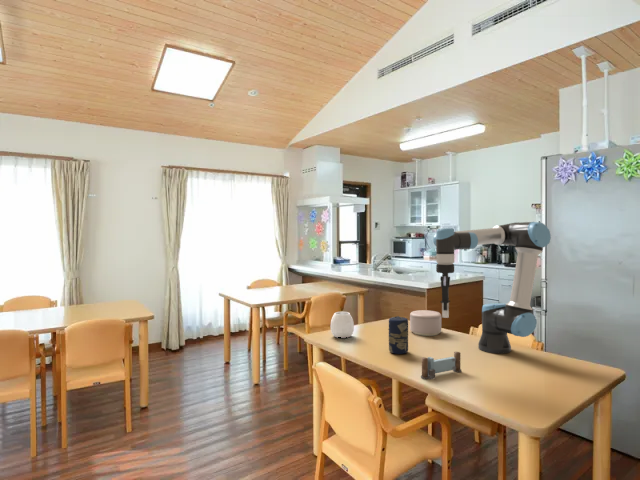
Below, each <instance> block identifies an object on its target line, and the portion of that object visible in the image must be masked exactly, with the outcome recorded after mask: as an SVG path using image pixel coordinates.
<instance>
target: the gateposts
mask: <svg viewBox="0 0 640 480" xmlns="http://www.w3.org/2000/svg"><path fill="white" fill-rule="evenodd" d="M453 357H454V358H456V361H455V366H456V369H455V370H452V371H453V373H462V369H461V352H460V351H454V352H453ZM420 379H422V380H428V379H429V380H435V379H436V373H435V370H434V369H431V370H429V376H428V357H425V356H424V357H421V375H420Z"/></svg>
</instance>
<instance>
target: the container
mask: <svg viewBox="0 0 640 480" xmlns="http://www.w3.org/2000/svg"><path fill="white" fill-rule="evenodd" d="M409 330H410V331H411V332H412V333H413V334H415V335H418V336H424V337H426V336H427V337H428V336H429V337H430V336H431V337H432V336H433V337H434V336H437V335H439V334H440V333H442V313H440V312H439V311H435V310H430V309H429V310H427V309H423V310H422V309H421V310H420V309H418V310H413V311H411V312H410V313H409Z"/></svg>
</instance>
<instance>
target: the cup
mask: <svg viewBox="0 0 640 480" xmlns="http://www.w3.org/2000/svg"><path fill="white" fill-rule="evenodd" d="M354 328H355V325H354V319H353V317H352V315H351V313H350V312H348V311H336V312H334V313H333V315H332V317H331V320H330V332H331V334H332V336H333V337H335V338H338V337H341V339H345V338H346V337H347V338H349V337H351V336H352V335H353V333H354V330H355V329H354Z"/></svg>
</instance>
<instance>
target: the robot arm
mask: <svg viewBox="0 0 640 480" xmlns="http://www.w3.org/2000/svg"><path fill="white" fill-rule="evenodd" d="M551 236H552V235H551V231H550V229H549V228H548V226H547V225H546V224H545V223H543V222H540V221H529V222H528V221H525V222H511V223H505V224H502V225H495V226H493V227H492V228H491V227H490V228H480V229H479V228H478V229H469V230H457V231H456V230H455V229H454V228H449V227H448V228H447V227H446V228H445V227H443V228H441V227H440V228H437V229H436V233H435V234H434V235H433V239H432V241H433V244H434V246H435V250H436V255H434V259H436V260H435V261H436V263H437V264H436V265H435V266H436V267H435V268H436V273H439V274H442V275H441V276H440V278H439V279H440V280H439V281H440V287H441V301H440V303H441V319H442V318H445V319H446V318H447V319H448V318H450V317H449V315H450V311H449V310H450V309H449V308H450V303H451V300H450V298H449V297H450V296H449V293H450V291H449V288H450V285H451V284H450V281H451V276H449V274H454V272H455V264H454V263H455V251H456V250H474V249H476V248H477V247H478V246H481V245H489V244H494V245H497V246H498V245H499V246H500V245H504V246H505V245H507V246H515V250H516V251H517V258H516V261H515V268H514V269H515V270H514V276H513V282H512V288H511V292H510V298H509V302H506V303H501V302H498V303H485V304H483V305H482V307H481V335H480V338H479V341H478V346H477V347H478V349H479V350H480V351H483V352H486V353H491V354H508V353H510V352H512V346H511V342H510V339H509V337H508V334H510V335H513V336H515V337H521V338H525V337H528V336H530V335H532V334H533V333H534V331H535V330H536V328H537V317H536V315H534V314H533V312H534V311H533V310H534V309H533V308H532V307H531V302H532V301H531V299H532V295H533V294H532V293H533V288H534V287H533V286H534V281H535V276H536V271H537V270H536V269H537V264H538V258H539V257H538V256H539V255H541V253H543V250H544V248H546V247H547V246H548V245H549V244H550V243H551V238H552V237H551Z"/></svg>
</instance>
